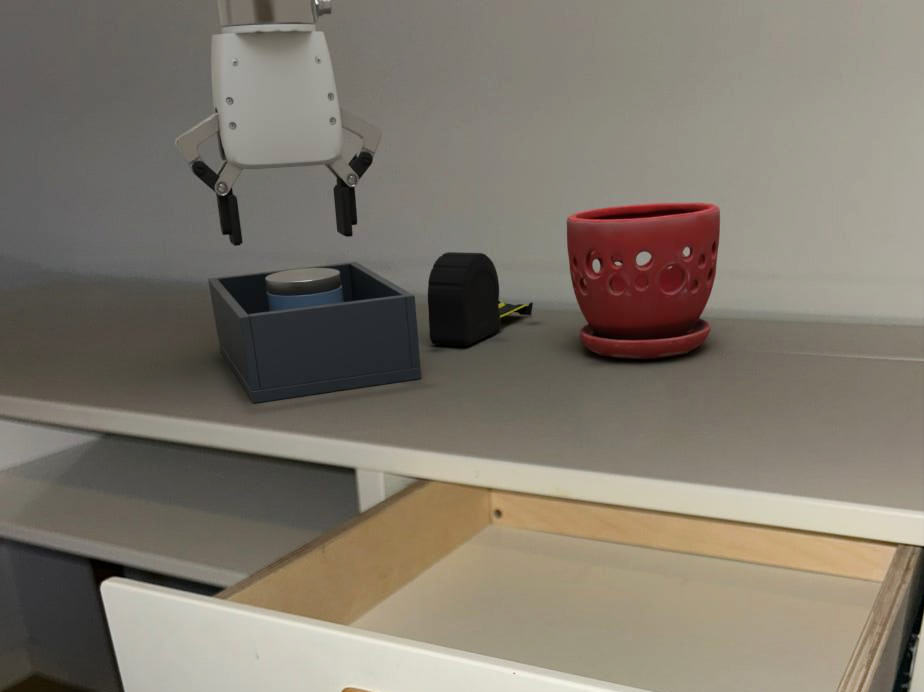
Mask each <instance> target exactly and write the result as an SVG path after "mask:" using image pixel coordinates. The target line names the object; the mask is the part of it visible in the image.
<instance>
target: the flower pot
mask: <svg viewBox="0 0 924 692" xmlns="http://www.w3.org/2000/svg"><path fill="white" fill-rule="evenodd" d="M720 233H721V209H720V207H719V206H718V205H716V204H714V203H707V202H658V203H642V204H641V203H640V204H630V205H629V204H627V205H617V206H608V207H602V208H594V209H589V210H584V211H579V212H575V213H573V214H570V215H569V216H568V217H567V218H566V245H567V254H568V255H567V256H568V264H569V275H570V279H571V284H572V289H573V292H574V296H575V298H576V302H577V304H578V307H579V309H580V312H581V313H582V315H583V317H584V320H585V321H586V322H587V324H585V325H583V327H581V329H580V331H579V339H580V341H581V343H582V344H583V345H584V346H585V347H586V348H587V349H588V350H590V351H591V352H593V353H594V354H595V353H596V354H597V356H599V357H609V358H610V357H611V358H618V359H626V360H627V359H628V360H646V359H649V360H650V359H651V360H652V359H660V358H669V357H674V356H678V355H681V356H682V355H683V356H684V355H688V354H689V352H690V351H693V350H694V349H696V348H697V347H699V346H700V345H702V344H703V342H705V341H706V339H707V338H708V336H709V335H710V333H711V323H710V322H709V321H707V320H705V319H703V318H701V316H702V314H703V313H704V310H705V308H706V306H707V304H708V301H709V299H710V297H711V294H712V290H713V287H714V283H715V279H716V275H717V274H716V273H717V262H718V254H719V245H720ZM686 248H688V249H689V254H688V255H685V254H684V253H683V252H684V251H685V249H686ZM643 252H645V253H649V255H650V258H649V260H648V261H647V262H646V263H643V264H638V262H637V258H638V255H639V254H640V253H643ZM595 260H597V261H598V262H599V270H598V272H596V271H595V269H594V266H593V264H594V261H595ZM617 263H620V264H617Z"/></svg>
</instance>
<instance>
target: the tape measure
mask: <svg viewBox="0 0 924 692" xmlns="http://www.w3.org/2000/svg"><path fill="white" fill-rule="evenodd" d="M427 284H428V285H427V305H428V308H427V309H428V326H429V328H428V329H429V338H430V339H429V340H430V342H431V344H433V345H444V346H456V347H457V346H459V347H460V346H461V347H469V346H471V345H473V344H474V343H477V342H478V341H480V340H483V339H484V338H487V337H491V336H494V335H496V334H498V333H499V332H500V331H501V328H502V324H501V323H502V322H501V318H503V317H506V316H507V315H512V314H513V313H516V314H517V313H518V314H519V315H520V316H532V312H533V306H534V303H533V302H529V304H528V303H525V304H523V303H518V304H512V303H506V302H505V303H504V302H501V301H500V282H499V277H498V272H497V268H496V267H495V264H494V262H493V260H492V259H491V258H490V257H489V256H488V255H487V254H485V253H482V252H460V251H459V252H458V251H457V252H455V251H448V252H444V253H443V254H441V255H439V257H438V258H437V259H436V260H435V261H434V264H433V265H432V269H431V270H430V273H429V277H428V281H427Z"/></svg>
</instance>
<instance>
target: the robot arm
mask: <svg viewBox="0 0 924 692" xmlns="http://www.w3.org/2000/svg"><path fill="white" fill-rule="evenodd" d="M332 5H333V4H332V0H217V6H218V7H217V8H218V15H219V21H220V22H219V23H220V29H221V30H220V31H221V33H216V34H212V35H211V48H210V71H211V89H212V91H211V92H212V103H213V105H212V106H213V113H212V114H210V115H209V116H208V117H206V118H204V119H203V120H201V121H200V122H199V123H196V125H194V126H193V127H190V128H189V129H188V130H186V131H184V132H183V133H182V134H181V135H179V136H177V137H176V138H175V140H174V145H175V147H176V150H178V152H179V154H180V155H181V156H182V159H183V160H184V162H185V163H186V164H187V166H188V168H189V169H190V170H191V172H192V174H193V175H194V176H196V177H197V178H198V179H199V180H200V181H202V182H203V183H204V184H205V185H206V186H207V187H208V188H209V189H211V190H212V191H213V192H214V193H215V196H216V203H217V209H218V217H219V218H218V219H219V225H220V231H221V234H222V236H228V238H229V242H230V243H231V245H233V247H237V246H241V245H243V244H244V243H243V234H242V227H241V217H240V211H239V205H238V204H239V203H238V197H237V195H235V194H234V191H233V186H234V184H235V183H236V181H237V179H238V178H239V176H240V175H241V173H242V172H243V170H261V169H263V170H264V169H281V168H296V167H312V166H313V167H314V166H325V167H326V168H327V169H328V171H329V172H330V173H331V174H332V175H333V176H334V177H335V179H336V184H334V186H333V189H332V191H333V200H334V211H335V212H334V213H335V224H336V231H337V233H338V234H340V235H342V236H343V237H346V238H347V237H351V238H352V237H353V234H354V233H353V232H354V231H353V226H357V225H358V212H357V210H358V209H357V200H356V187H357V186H358V185H359V183H360V180H361V178H362V177H363V176H364V175H365V173H366V172H367V170H368V169H369V168H370V167H371V166H372V164H373V161H374V157H375V154H376V153H377V150H378V147H379V144H380V142H381V139H382V136H383V133H382V130H381V129H380V128H379V127H378V126H375V125H373V124H371V123H369V122H367V121H366V120H363V118H360V117H358V116H356V115H354V114H352V113H350V112H348V111H346V110H345V109H342V108H340V103H339V96H338V91H337V86H336V85H337V84H336V79H335V74H334V69H333V64H332V59H331V54H330V51H329V46H328V42H327V38H326V36H325V32H324V31H317V29H316V24H317V23H318V19H319V17H323V16H324V15H331V14H332V9H333V7H332ZM343 129H344V130H347V131H348V132H350V133H352V134H354V135H356V136H358V137H359V140H360V143H359V145H358V146H359V147H358V150H357V152H356V153H355V154H354V156H353V157H352V158H351V160H349V162H347V161H346V160H345V159H344V158H343V157H342V156H343V154H344V153H343V152H344V133H343ZM213 136H216V142H217V149H218V153H219V157H220V158H221V159H222V161H223V162H222V163H221V164H220V166H219V168H218V169H217V171H215V170H213V169H212V168H211V167H210V166H208V164H207V163H205V160H204V159H203V158H202V157H201V155H200V153H199V149H198V148H199V146H200V145H201V144H203V143H204V142H206V141H207V140H209V139H210V138H212V137H213Z"/></svg>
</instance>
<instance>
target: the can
mask: <svg viewBox="0 0 924 692" xmlns="http://www.w3.org/2000/svg"><path fill="white" fill-rule="evenodd" d="M294 269H295V270H288V271H282V272H277V273H274V274H271V275H268V276H267V277H266V278H265V280H266V286H267V297H268V304H269V311H278V310H286V309H294V308H303V307H311V306H319V305H327V304H335V303H343V302H344V301H343V292H342V285H341V279H340V272H339V271H338V270H335V269H329V268H306V269H296V268H294Z"/></svg>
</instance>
